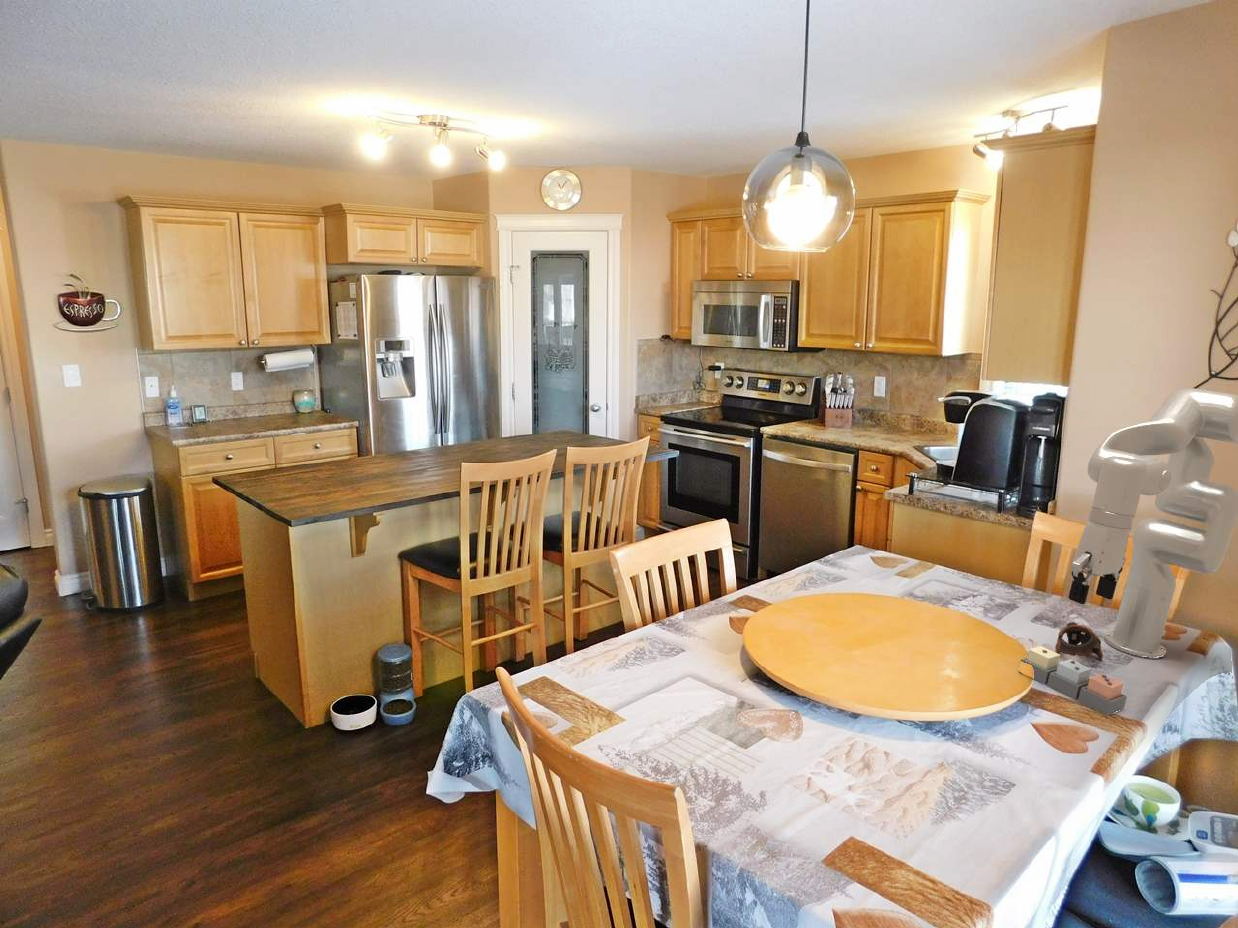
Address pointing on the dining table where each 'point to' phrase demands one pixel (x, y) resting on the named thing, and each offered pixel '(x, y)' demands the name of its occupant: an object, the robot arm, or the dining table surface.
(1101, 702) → the tile base
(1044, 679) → the tile one base
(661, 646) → the dining table surface
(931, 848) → the dining table surface
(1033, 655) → the button one
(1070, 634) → the pottery mug
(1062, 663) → the button two
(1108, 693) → the button three
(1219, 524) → the robot arm
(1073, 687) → the tile two base
